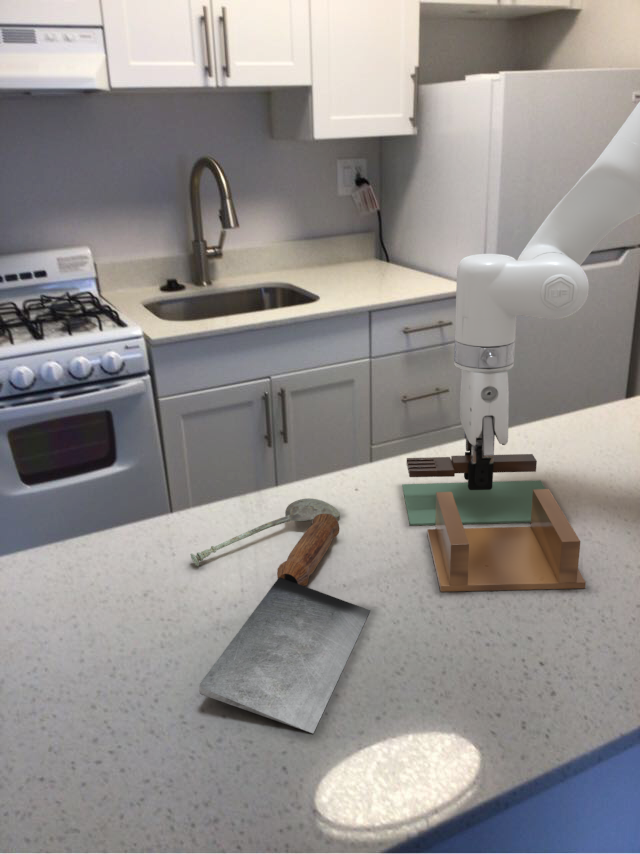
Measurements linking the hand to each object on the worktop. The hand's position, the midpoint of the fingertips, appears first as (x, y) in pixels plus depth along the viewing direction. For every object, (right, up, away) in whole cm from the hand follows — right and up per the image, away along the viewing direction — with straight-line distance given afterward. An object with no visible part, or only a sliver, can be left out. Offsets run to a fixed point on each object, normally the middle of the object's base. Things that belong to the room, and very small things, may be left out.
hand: (477, 482), depth 103 cm
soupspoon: (-28, -7, -5) cm, 29 cm away
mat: (0, -3, +1) cm, 3 cm away
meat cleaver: (-22, -13, -22) cm, 33 cm away
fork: (-1, +2, -1) cm, 2 cm away
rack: (0, -8, -13) cm, 15 cm away
